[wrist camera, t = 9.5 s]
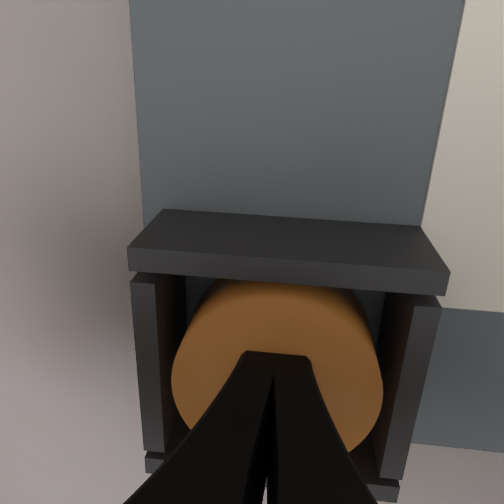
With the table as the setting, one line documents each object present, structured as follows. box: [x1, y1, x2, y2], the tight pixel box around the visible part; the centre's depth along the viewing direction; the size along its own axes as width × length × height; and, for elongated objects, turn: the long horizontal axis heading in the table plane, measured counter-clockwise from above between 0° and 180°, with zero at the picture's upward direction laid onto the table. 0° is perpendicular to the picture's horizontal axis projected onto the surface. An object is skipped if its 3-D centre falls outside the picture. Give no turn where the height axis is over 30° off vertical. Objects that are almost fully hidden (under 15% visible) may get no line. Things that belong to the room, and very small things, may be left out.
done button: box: [171, 278, 383, 452], centre depth 10 cm, size 4×4×2 cm
